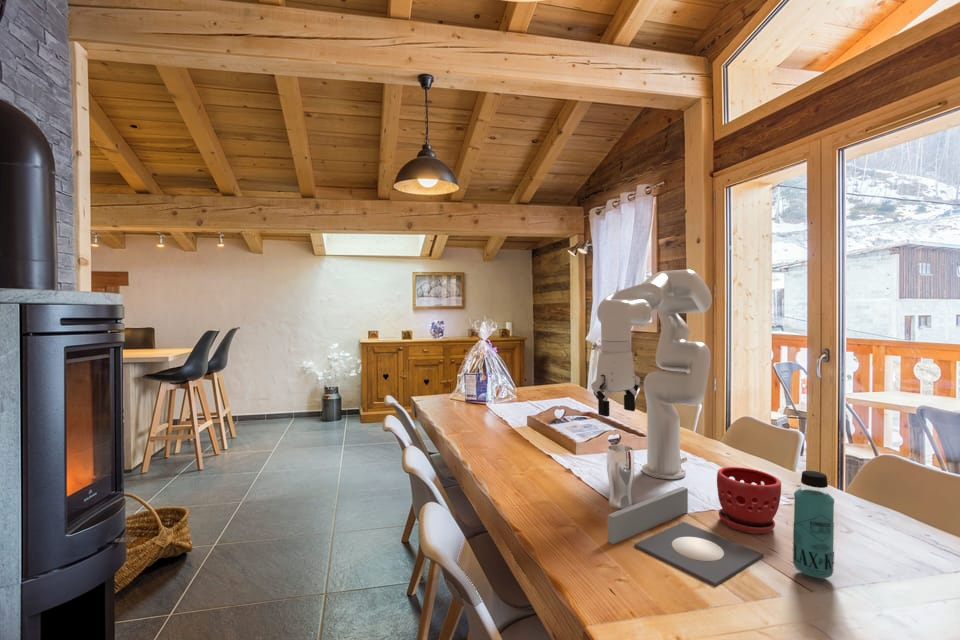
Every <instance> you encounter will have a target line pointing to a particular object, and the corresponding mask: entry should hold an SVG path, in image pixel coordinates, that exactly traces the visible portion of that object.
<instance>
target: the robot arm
mask: <svg viewBox="0 0 960 640" xmlns="http://www.w3.org/2000/svg"><path fill="white" fill-rule="evenodd" d="M712 303H713V297H712V293H711V290H710V289H709V287H708V285H707V284H706V283H705V282H704V280H703V279H702V277H701V276H700V275H699V274H698V273H697V272H695V271H694V270H692V269H676V270H675V269H672V270H661V271H658V272H656V273H654V274H653V275H650V277H649V278H647V279H645V280H644V281H643V282H642V283H640V284H637V285H632V286H630V287H627V288H624V289H621V290H618V291H615V292H613V293H611V294H609V295H607V296H605V298H603V299H602V301H601V302H600V303H599V305H598V307H597V313H596V316H597V319H598V321H599V323H600V337H601V342H600V344H601V345H600V346H601V350H600V351H601V352H599V354H598V357H597V358H598V359H597V365H596V380H595V381H594V382H593V383H591V384H590V387H591V390H592V392H593V394H594V395H593V396H595V398H596V400H597V401H598V410H597V411H598V412H597V413H598V415H599V416H603V417H606V418H607V417H610V401H609V398H610V396H611V394H612V393H619V392H624V394H623V409H624V410H625V411H629V412H635V411H636V396H637V391H638V389H639V387H640V386H639V385H640V382H641V377H639V376H638V375H637V374H635V373H636V372H635V363H634V358H633V357H634V355H633V352H632V328H636V327H637V328H640V327H644V326H646V325H648V324H649V323H650V321H651V320H652V317H653V311H654V310H656V312H657V315H658V318H659V320H660V326H661V328H660V329H661V330H660V335H659V339H658V344H657V348H656V353H655V363H656V366H657V367H658V368H660V369H661V370H655V371H651V372H648V374H646V376H645V377H644V379H643V390H644V397H645V402H646V416H647V417H646V418H647V419H646V421H647V422H646V423H647V424H646V429H647V430H646V433H647V434H646V438H647V439H646V441H647V443H646V446H647V447H646V452H647V453H646V454H647V455H646V457H647V463H644V464H643V465H642V467H641V468H642V469H641V470H642V472H643V473H644V474H645V475H647V476H650V477H653V478H657V479H661V480H679V479H682V478H684V477H685V476H686V475H687V473H686V470H685V469H684V467H682V464H684V463H687V462H688V458H687V456H686V455H682V456H681V426H680V425H681V419H680V414H679V412H678V410H677V408H676V407H675V404H676V405H684V406H691V407H692V406H694V407H695V406H699V405H701V404H702V403H703V401H704V398H705V395H706V390H707V383H708V378H709V375H710V374H709V373H710V367H711V351H710V348H709V346H708V345H707V344H706V343H704V342H701V341H690V340H689V336H690V328H689V325H688V324H687V322H686V321H685V320H684V319H683V318H682V317H681V316H680V315H679V314H701V313H707V311H709V309H710V308H711V306H712ZM662 370H663V371H662ZM664 370H665V371H664ZM666 370H667V371H666Z"/></svg>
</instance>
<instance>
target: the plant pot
mask: <svg viewBox="0 0 960 640" xmlns="http://www.w3.org/2000/svg"><path fill="white" fill-rule="evenodd" d="M731 477H732V478H733V479H732V478H731ZM742 481H743V482H742ZM762 482H763V484H762ZM753 483H754V484H753ZM716 489H717V497H718V501H719V504H720V507H721V508H720V509H719V511H718V516H719V519H720V520H721V521H722V522H723V523H724V524H726V525H727V526H728V527H730V528H731V529H732V528H733V529H735V530H738V531H741V532H745V533H750V534H765V533H769V532H771V531H772V530H774V528H775V527H776V522H775V520H774V518H775V516H776V514H777V513H778V510H779V505H780V502H781V496H782V482H781V480H780V479H779V478H778V477H776V476H774V475H772V474H770V473H767V472H764V471H762V470H757V469H752V468H747V467H739V466H728V467H727V466H725V467H722V468H719V469H718V470H717V473H716Z"/></svg>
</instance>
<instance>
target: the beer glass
mask: <svg viewBox="0 0 960 640" xmlns="http://www.w3.org/2000/svg"><path fill="white" fill-rule="evenodd" d="M606 473H607V479H608V485H609V498H608V505H609V506H610V507H611V508H614V509H616V510H622V509H624V508H627V507H630V506H632V505H634V504H633V499H632V498H633V497H632V486H633V479H634V476H635V454H634V447H632V446H630V445H627V444H610V445H607V450H606Z"/></svg>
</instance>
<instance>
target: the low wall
mask: <svg viewBox="0 0 960 640" xmlns="http://www.w3.org/2000/svg"><path fill="white" fill-rule="evenodd" d="M688 491H689V490H688V488H687V487H684V486H680V487H678V488H675V489H672V490H670V491H667V492H664V493H662V494H659V495H657V496H654V497H651V498H648V499H646V500H644V501H640V502H638V503H635V504H633V505H632V506H630V507H627V508H624V509H618V510H617V511H614V512H612V513H609V514H607V542H608V543H609V544H612V545H615V544H618V543H619V542H622V541H624V540H627V539H629V538H631V537H633V536H636V535H639V534H640V533H643V532H645V531H648V530H649V529H651V528H654V527H656V526H659V525H661V524H664V523H666V522H668V521H671V520H673V519H675V518H677V517H680V516H682V515H685V514H686V513H689V509H688V508H689V506H688V505H689V501H688V500H689V497H688V496H689V493H688Z"/></svg>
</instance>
